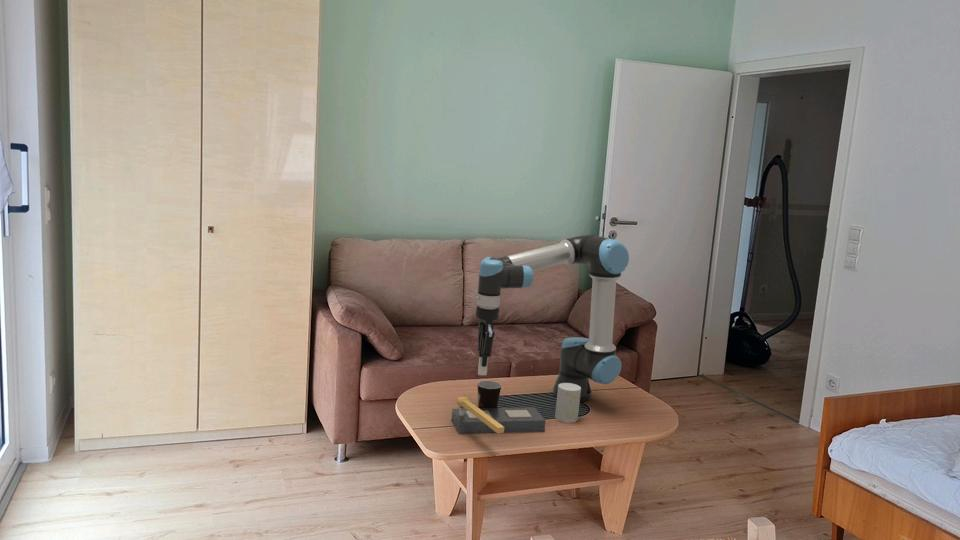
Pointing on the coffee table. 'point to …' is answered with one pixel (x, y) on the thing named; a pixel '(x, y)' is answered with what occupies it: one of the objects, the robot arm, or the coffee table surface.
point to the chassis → (499, 420)
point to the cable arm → (480, 414)
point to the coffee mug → (488, 394)
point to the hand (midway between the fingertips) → (482, 374)
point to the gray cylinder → (567, 402)
